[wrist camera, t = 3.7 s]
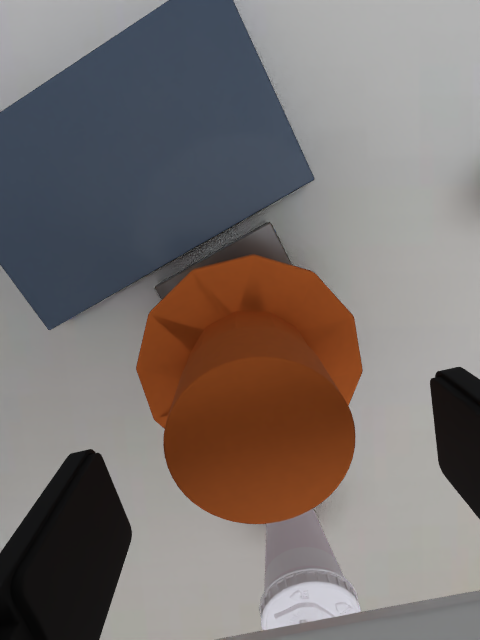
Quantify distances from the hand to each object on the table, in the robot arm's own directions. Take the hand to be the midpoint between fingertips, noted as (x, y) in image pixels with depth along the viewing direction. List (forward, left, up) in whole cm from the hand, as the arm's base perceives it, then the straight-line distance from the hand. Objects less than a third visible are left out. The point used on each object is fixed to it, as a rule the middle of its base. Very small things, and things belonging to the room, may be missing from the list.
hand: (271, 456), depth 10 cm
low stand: (-2, +12, -18) cm, 21 cm away
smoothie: (-5, -17, -18) cm, 25 cm away
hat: (0, 0, -7) cm, 7 cm away
